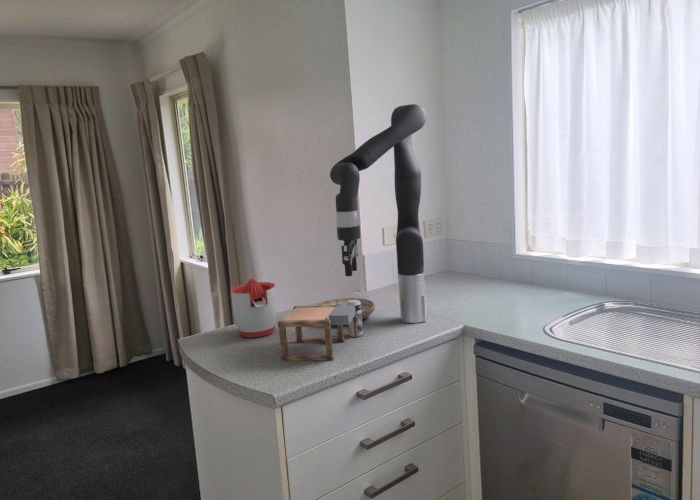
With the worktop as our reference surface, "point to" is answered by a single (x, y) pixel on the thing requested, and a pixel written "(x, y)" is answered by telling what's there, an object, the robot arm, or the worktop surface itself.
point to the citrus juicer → (254, 308)
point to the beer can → (356, 319)
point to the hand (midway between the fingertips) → (351, 273)
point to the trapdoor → (324, 314)
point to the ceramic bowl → (366, 305)
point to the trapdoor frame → (309, 323)
